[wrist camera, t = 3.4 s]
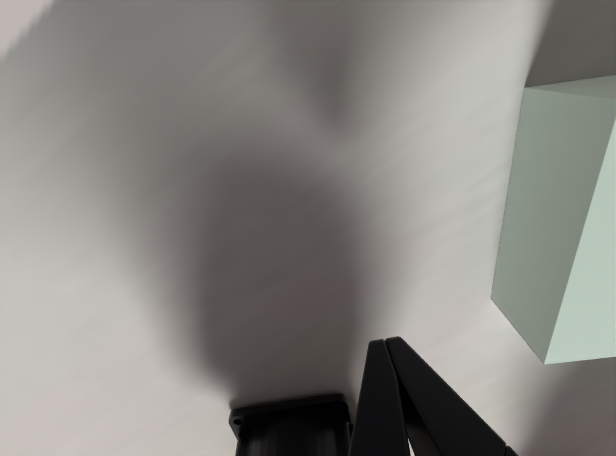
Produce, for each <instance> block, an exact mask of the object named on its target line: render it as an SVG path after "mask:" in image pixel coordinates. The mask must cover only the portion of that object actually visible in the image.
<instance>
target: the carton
mask: <svg viewBox="0 0 616 456" xmlns="http://www.w3.org/2000/svg"><path fill="white" fill-rule="evenodd" d="M491 300H492V301H493V302H494V303H495V305H496V306H497V307H498V308H499V310H500V311H501V312H502V313H503V314H504V316H505V317H506V318H507V319H508V321H509V322H510V323H511V324H512V326H513V327H514V328H515V329H516V331H517V332H518V333H519V334H520V336H521V337H522V338H523V339H524V341H525V342H526V343H527V344H528V346H529V347H530V348H531V349H532V351H533V352H534V353H535V354H536V356H537V357H538V358H539V359H540V361H541V362H542V363H543V364H544V365H546V364H554V363H563V362H572V361H581V360H590V359H599V358H607V357H616V75H611V76H604V77H597V78H590V79H582V80H575V81H568V82H561V83H554V84H547V85H540V86H533V87H526V88H524V90H523V96H522V102H521V109H520V115H519V122H518V128H517V134H516V141H515V147H514V153H513V160H512V166H511V172H510V179H509V185H508V191H507V198H506V204H505V210H504V217H503V223H502V229H501V236H500V242H499V248H498V255H497V261H496V267H495V274H494V280H493V287H492V293H491Z"/></svg>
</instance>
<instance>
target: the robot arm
mask: <svg viewBox="0 0 616 456" xmlns="http://www.w3.org/2000/svg"><path fill="white" fill-rule="evenodd" d="M229 424H230V426H231V428H232V430H233V432H234V434H235V436H236V438H237V440H238V442H237V448H236V454H235V456H411V455H410V449H409V443H408V439H409V441H410V444H411V447H412V449H413V452H414V455H415V456H519V455H518V454H517V453H516V452H515V451H514V450H513V449H512V448H511V447H510V446H506V443H505V441H504V440H503V439H502V438H501V437H500V436H499V435H498V434H497V433H496V432H495V431H494V430H493V429H492V428H491V427H490V426H489V425H488V424H487V423H486V422H485V421H484V420H483V419H482V418H481V417H480V416H479V415H478V414H477V413H476V412H475V411H474V410H473V409H472V408H471V407H470V406H469V405H468V404H467V403H466V402H465V401H464V400H463V399H462V398H461V397H460V396H459V395H458V394H457V393H456V392H455V391H454V390H453V389H452V388H451V387H450V386H449V385H448V384H447V383H446V382H445V381H444V380H443V379H442V378H441V377H440V376H439V375H438V374H437V373H436V372H435V371H434V370H433V369H432V368H431V367H430V366H429V365H428V364H427V363H426V362H425V361H424V360H423V359H422V358H421V357H420V356H419V355H418V354H417V353H416V352H415V351H414V350H413V349H412V348H411V347H410V346H409V345H408V344H407V343H406V342H405V341H404V340H403V339H402V338H401V337H399V336H397V337H391V338H387V339H386V340H383V339H379V340H373V341H370V342H369V345H368V351H367V356H366V362H365V367H364V373H363V378H362V384H361V389H360V395H359V400H358V406H357V411H356V417H355V423H352V420H351V415H350V411H349V406H348V402H347V398H346V396H344V395H342V394H332V395H326V396H319V397H313V398H306V399H300V400H294V401H287V402H281V403H274V404H268V405H261V406H255V407H248V408H242V409H236V410H233V411H232V412H231V413H230V416H229Z"/></svg>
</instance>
